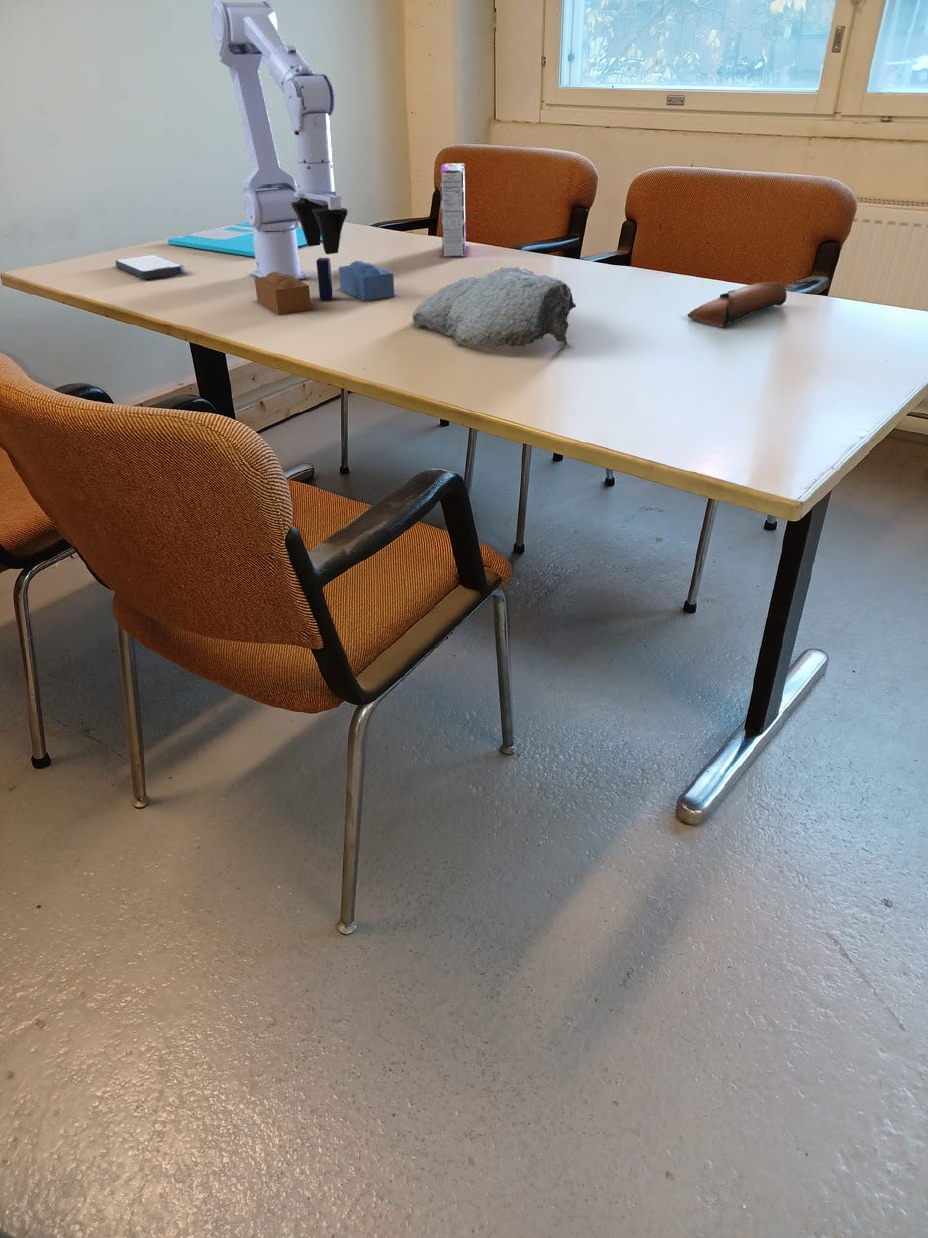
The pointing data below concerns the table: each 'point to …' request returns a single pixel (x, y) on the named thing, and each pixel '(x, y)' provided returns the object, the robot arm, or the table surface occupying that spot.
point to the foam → (499, 309)
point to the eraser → (324, 279)
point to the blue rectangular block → (366, 281)
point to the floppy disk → (228, 239)
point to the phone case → (149, 266)
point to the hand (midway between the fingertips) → (322, 249)
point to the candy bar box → (453, 209)
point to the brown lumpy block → (282, 293)
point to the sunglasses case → (739, 303)
